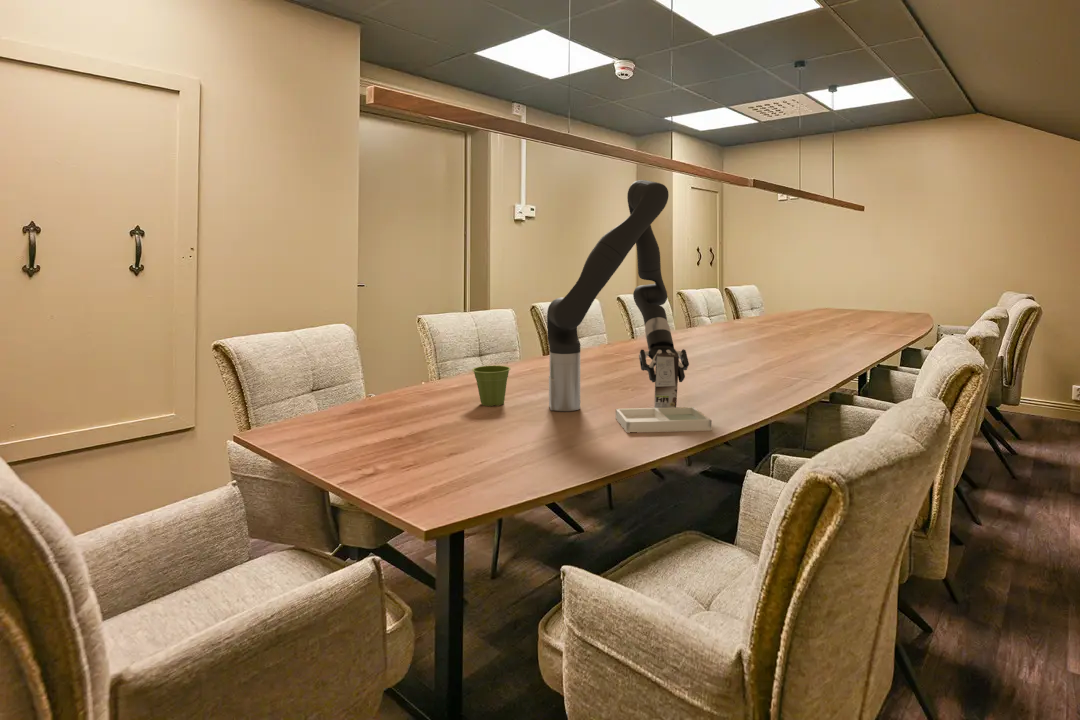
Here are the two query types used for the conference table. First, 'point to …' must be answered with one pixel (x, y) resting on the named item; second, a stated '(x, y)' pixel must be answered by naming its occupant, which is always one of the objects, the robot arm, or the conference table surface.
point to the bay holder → (663, 419)
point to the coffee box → (666, 380)
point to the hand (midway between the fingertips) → (667, 380)
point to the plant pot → (491, 384)
